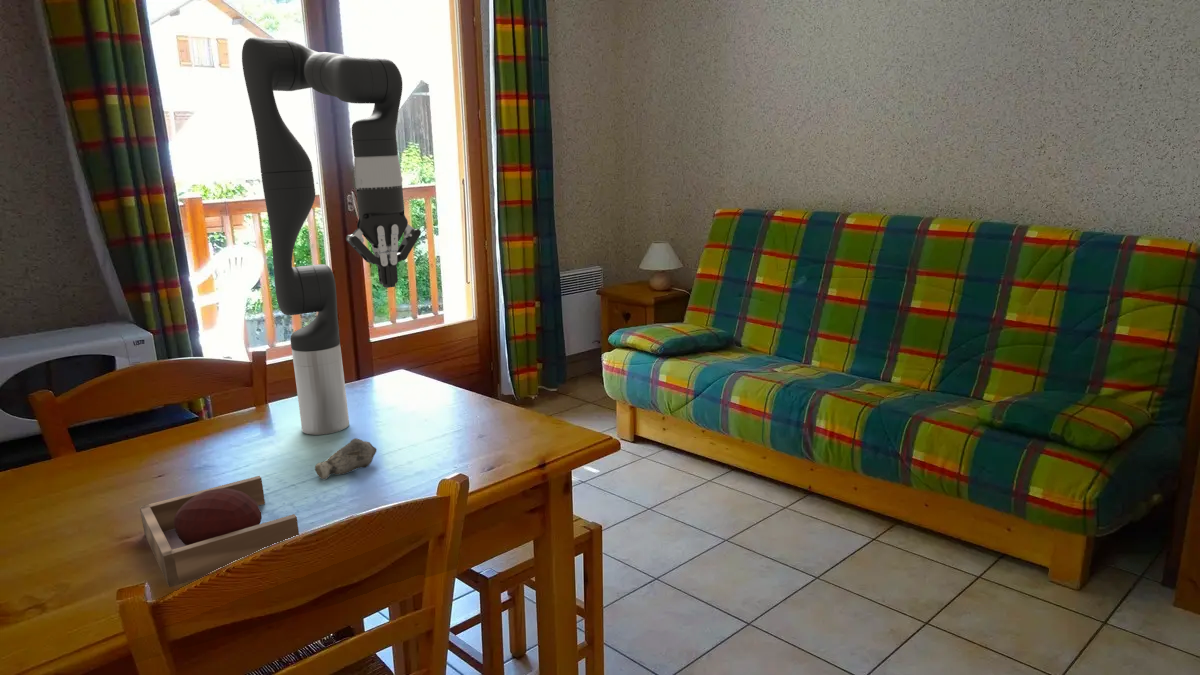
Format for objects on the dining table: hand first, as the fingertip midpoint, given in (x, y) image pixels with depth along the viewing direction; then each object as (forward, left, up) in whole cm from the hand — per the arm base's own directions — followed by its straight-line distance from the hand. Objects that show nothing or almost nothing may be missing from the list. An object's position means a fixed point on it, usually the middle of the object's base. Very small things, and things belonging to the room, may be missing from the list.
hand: (388, 286), depth 140 cm
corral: (+10, -33, -32) cm, 47 cm away
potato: (+12, -34, -32) cm, 48 cm away
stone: (-3, -10, -32) cm, 34 cm away
